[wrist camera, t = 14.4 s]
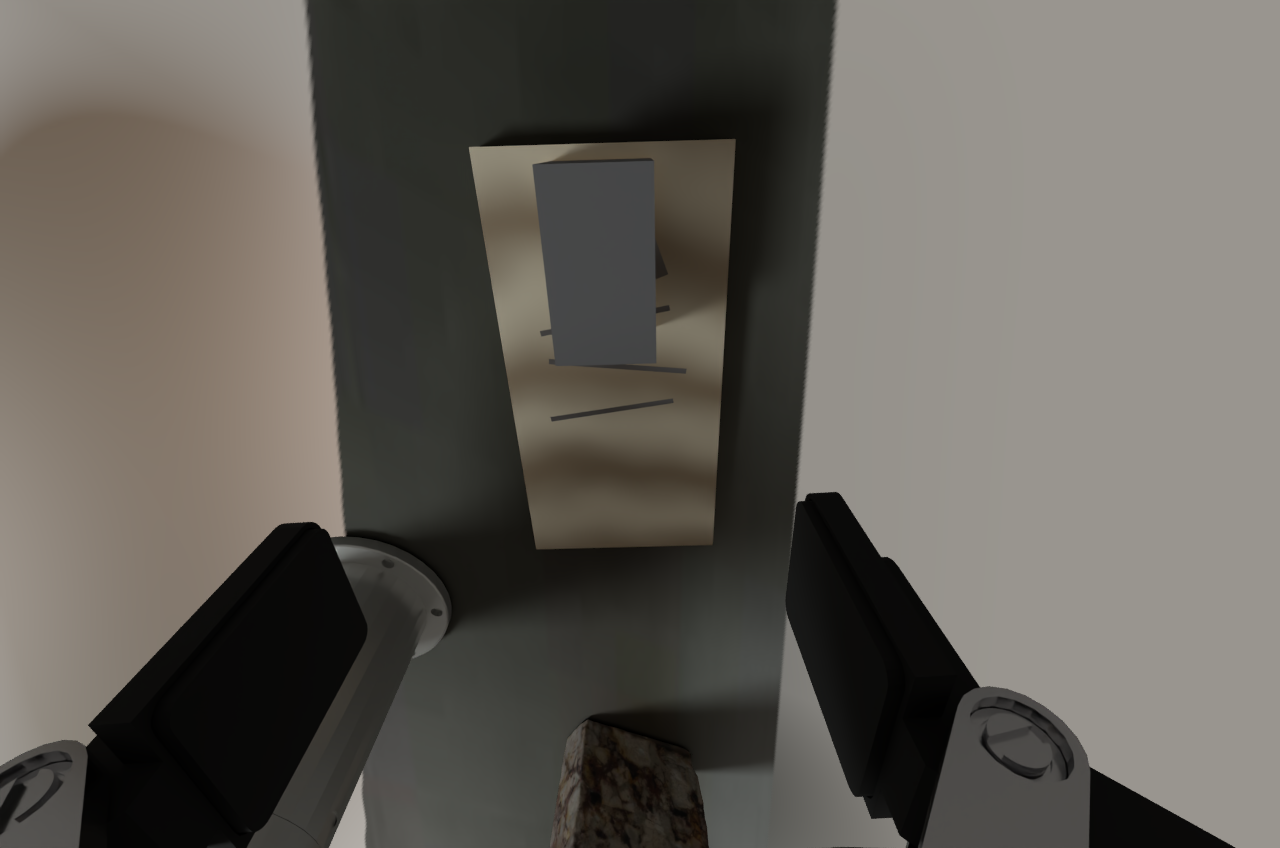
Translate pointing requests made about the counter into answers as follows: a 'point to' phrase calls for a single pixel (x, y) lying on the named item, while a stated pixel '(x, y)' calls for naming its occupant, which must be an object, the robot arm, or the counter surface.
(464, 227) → the counter surface
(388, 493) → the counter surface
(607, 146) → the birch board
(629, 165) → the sanding sponge
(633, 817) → the stone block
